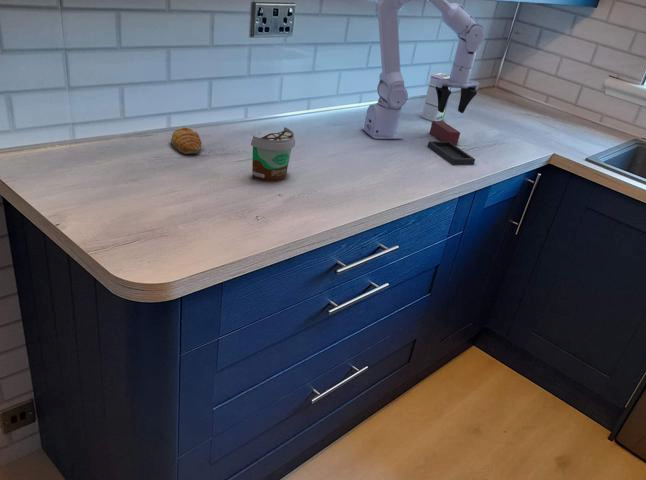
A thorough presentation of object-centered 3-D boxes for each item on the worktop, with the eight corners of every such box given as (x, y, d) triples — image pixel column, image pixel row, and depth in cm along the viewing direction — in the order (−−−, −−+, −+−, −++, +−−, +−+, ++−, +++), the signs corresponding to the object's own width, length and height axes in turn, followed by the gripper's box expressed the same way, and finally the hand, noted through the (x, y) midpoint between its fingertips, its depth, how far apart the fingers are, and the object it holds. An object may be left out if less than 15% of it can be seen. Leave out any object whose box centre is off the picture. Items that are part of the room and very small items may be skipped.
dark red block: (446, 145, 181) (449, 132, 179) (429, 133, 189) (432, 120, 186) (456, 145, 183) (460, 132, 181) (439, 133, 190) (442, 121, 188)
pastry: (206, 156, 141) (206, 140, 139) (177, 156, 138) (177, 140, 136) (196, 141, 148) (197, 126, 146) (169, 141, 145) (169, 126, 143)
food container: (269, 188, 132) (273, 145, 127) (247, 179, 135) (251, 136, 129) (301, 175, 142) (307, 134, 136) (281, 166, 144) (285, 126, 138)
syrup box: (435, 122, 200) (446, 78, 192) (420, 117, 202) (431, 73, 194) (443, 120, 204) (454, 77, 196) (428, 114, 206) (439, 71, 198)
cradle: (452, 164, 167) (454, 159, 167) (427, 146, 177) (428, 141, 176) (473, 164, 171) (475, 159, 170) (448, 146, 181) (449, 141, 180)
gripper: (450, 68, 168) (438, 115, 175) (490, 71, 174) (476, 116, 182) (436, 61, 173) (425, 108, 180) (475, 64, 179) (463, 109, 187)
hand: (450, 111), depth 181 cm, fingers open, 7 cm apart
